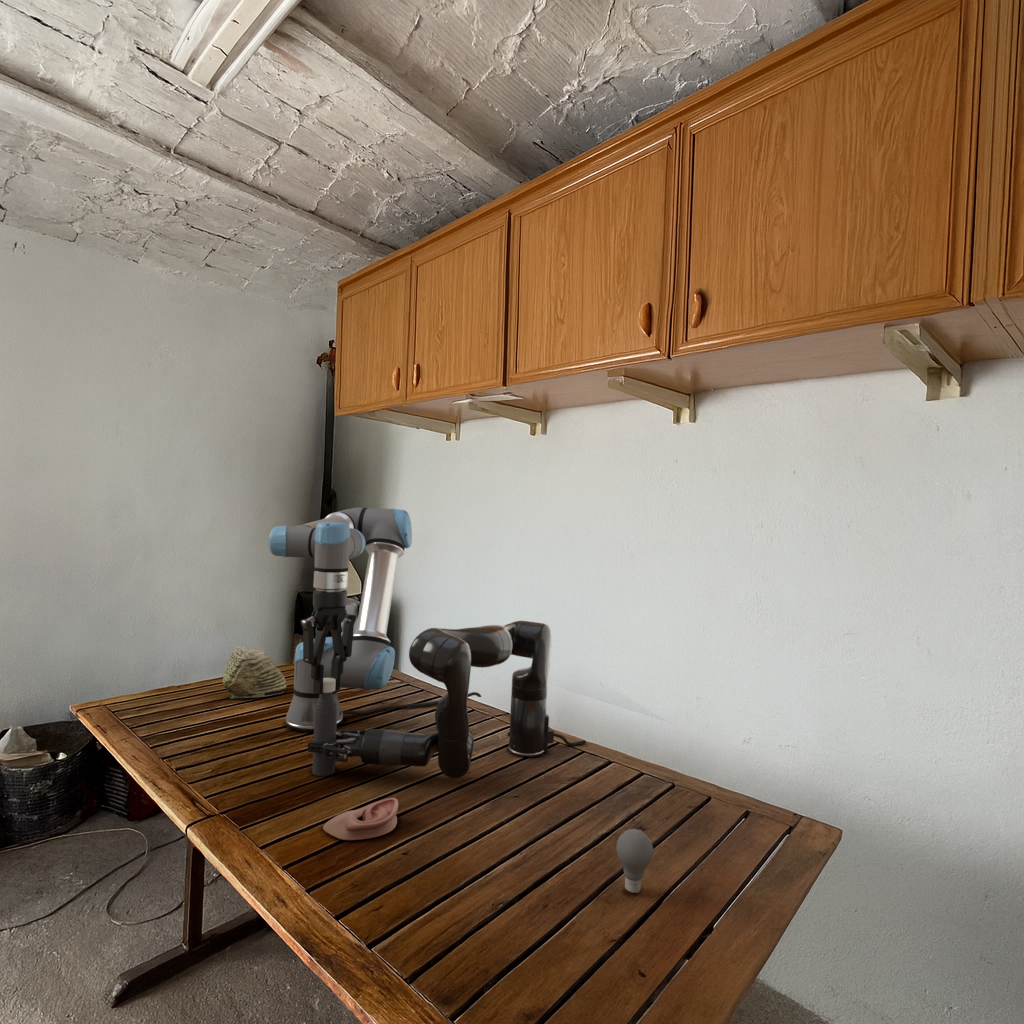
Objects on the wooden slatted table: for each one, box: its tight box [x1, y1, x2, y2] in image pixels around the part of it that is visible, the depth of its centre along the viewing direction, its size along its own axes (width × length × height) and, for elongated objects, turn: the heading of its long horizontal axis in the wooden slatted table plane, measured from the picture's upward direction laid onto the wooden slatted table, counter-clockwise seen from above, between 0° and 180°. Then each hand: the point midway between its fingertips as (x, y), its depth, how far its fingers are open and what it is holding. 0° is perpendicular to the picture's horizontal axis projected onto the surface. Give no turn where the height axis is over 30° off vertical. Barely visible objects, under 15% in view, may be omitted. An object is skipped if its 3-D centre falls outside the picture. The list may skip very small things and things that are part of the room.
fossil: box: [222, 646, 288, 699], centre depth 198 cm, size 9×18×15 cm, turn 132°
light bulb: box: [615, 828, 654, 894], centre depth 106 cm, size 6×6×10 cm
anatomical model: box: [322, 797, 399, 841], centre depth 122 cm, size 13×4×12 cm
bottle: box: [311, 692, 338, 777], centre depth 146 cm, size 5×5×21 cm
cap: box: [323, 678, 336, 693], centre depth 146 cm, size 4×4×2 cm
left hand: (326, 690), depth 146 cm, fingers closed on cap, 4 cm apart
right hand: (313, 741), depth 146 cm, fingers closed on bottle, 5 cm apart
